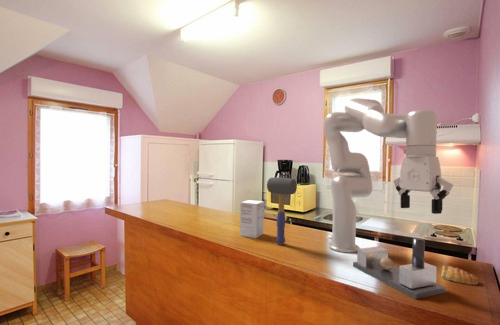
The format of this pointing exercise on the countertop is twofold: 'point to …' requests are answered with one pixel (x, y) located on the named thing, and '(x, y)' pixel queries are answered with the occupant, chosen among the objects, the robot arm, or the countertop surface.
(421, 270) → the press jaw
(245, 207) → the supplement box
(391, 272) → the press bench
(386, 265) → the tan wooden ball
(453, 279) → the pastry
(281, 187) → the rubber mallet
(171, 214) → the countertop surface
